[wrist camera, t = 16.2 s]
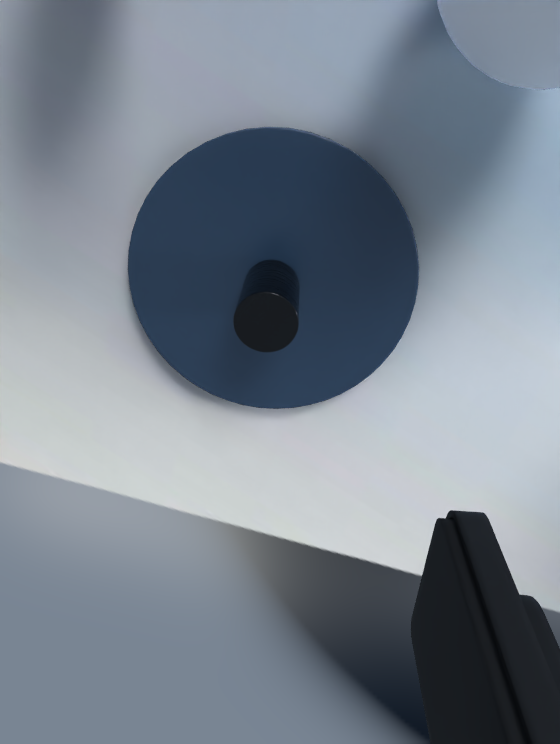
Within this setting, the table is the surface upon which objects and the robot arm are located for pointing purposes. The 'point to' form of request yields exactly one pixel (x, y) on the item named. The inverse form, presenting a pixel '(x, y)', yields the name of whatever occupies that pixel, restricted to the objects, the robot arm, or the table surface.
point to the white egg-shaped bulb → (508, 39)
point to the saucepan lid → (273, 267)
